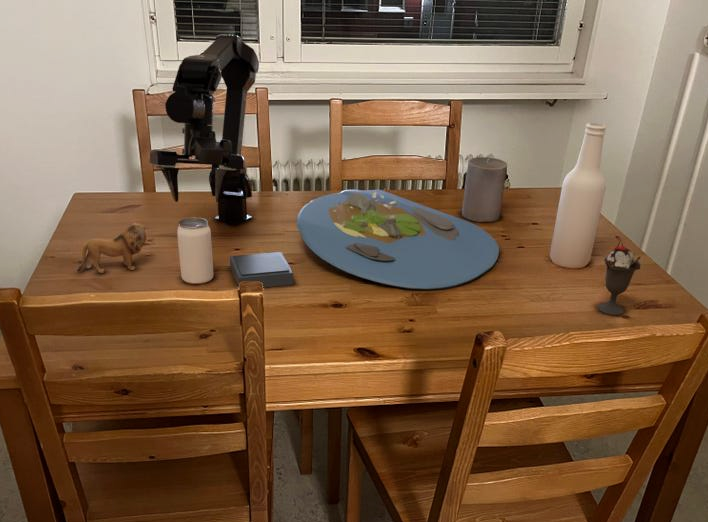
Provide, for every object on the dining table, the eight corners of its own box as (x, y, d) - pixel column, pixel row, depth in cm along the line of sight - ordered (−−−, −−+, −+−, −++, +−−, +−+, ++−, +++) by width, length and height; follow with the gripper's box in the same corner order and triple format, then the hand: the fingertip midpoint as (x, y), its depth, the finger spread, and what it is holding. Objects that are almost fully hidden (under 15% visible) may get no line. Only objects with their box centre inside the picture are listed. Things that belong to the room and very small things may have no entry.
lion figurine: (146, 258, 158) (142, 218, 154) (152, 267, 154) (147, 227, 150) (75, 268, 153) (68, 227, 148) (79, 278, 149) (72, 236, 144)
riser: (230, 268, 156) (229, 254, 154) (281, 263, 159) (281, 250, 157) (239, 290, 147) (238, 276, 145) (293, 284, 150) (293, 271, 148)
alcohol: (546, 265, 163) (572, 126, 147) (551, 250, 170) (576, 117, 154) (587, 272, 160) (617, 132, 145) (590, 257, 167) (620, 122, 152)
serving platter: (525, 271, 172) (541, 223, 165) (408, 331, 144) (421, 276, 137) (383, 197, 194) (391, 152, 187) (257, 237, 166) (261, 186, 159)
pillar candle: (472, 206, 194) (479, 149, 186) (506, 215, 189) (515, 157, 181) (454, 216, 187) (461, 157, 179) (489, 225, 182) (497, 165, 174)
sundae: (587, 301, 148) (603, 231, 140) (620, 301, 148) (637, 231, 140) (600, 317, 142) (617, 244, 134) (633, 317, 143) (652, 244, 135)
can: (206, 286, 148) (202, 230, 141) (176, 283, 149) (170, 226, 142) (218, 273, 153) (214, 218, 147) (188, 270, 154) (184, 215, 148)
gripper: (167, 122, 139) (167, 206, 144) (257, 129, 149) (254, 207, 154) (148, 120, 148) (148, 199, 153) (234, 127, 158) (232, 201, 163)
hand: (197, 202), depth 155 cm, fingers open, 9 cm apart
